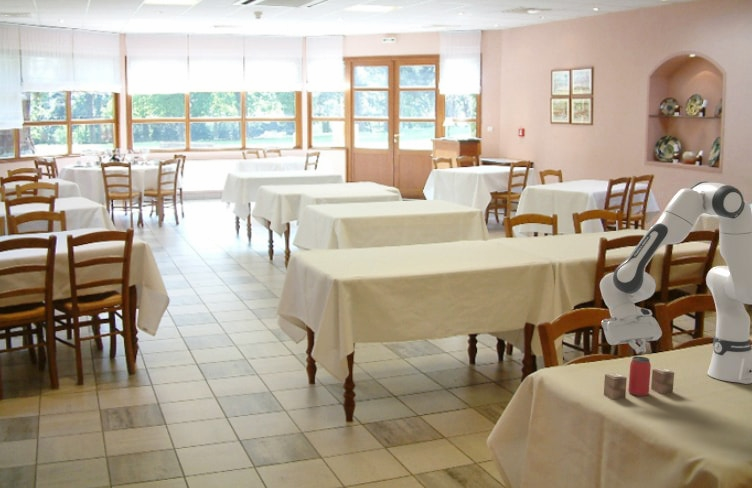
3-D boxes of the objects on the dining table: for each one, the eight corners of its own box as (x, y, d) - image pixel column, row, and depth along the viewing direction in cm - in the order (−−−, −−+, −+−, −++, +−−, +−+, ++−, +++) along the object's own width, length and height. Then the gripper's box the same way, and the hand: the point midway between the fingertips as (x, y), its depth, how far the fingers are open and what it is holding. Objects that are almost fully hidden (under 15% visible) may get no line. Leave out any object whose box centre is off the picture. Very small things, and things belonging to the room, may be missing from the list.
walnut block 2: (663, 387, 305) (664, 367, 303) (672, 392, 300) (674, 371, 299) (651, 389, 303) (652, 368, 302) (660, 393, 298) (662, 372, 297)
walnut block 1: (616, 393, 298) (617, 372, 297) (625, 397, 293) (626, 376, 292) (603, 394, 296) (605, 373, 295) (612, 399, 292) (613, 378, 291)
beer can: (649, 397, 294) (652, 362, 292) (628, 395, 296) (631, 360, 294) (647, 391, 301) (650, 356, 299) (627, 389, 302) (630, 355, 300)
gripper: (603, 314, 297) (619, 350, 290) (654, 309, 304) (671, 345, 297) (595, 324, 302) (611, 360, 295) (645, 319, 309) (662, 354, 302)
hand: (641, 352), depth 296 cm, fingers closed
